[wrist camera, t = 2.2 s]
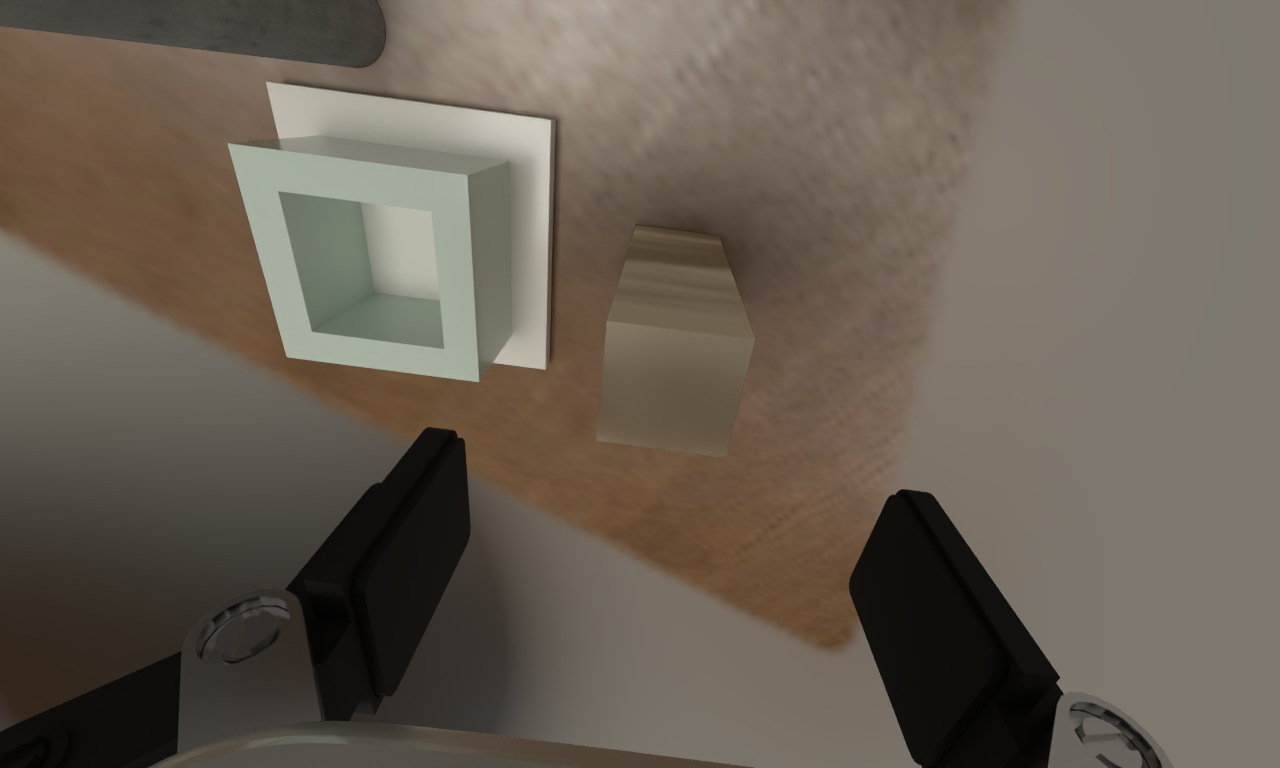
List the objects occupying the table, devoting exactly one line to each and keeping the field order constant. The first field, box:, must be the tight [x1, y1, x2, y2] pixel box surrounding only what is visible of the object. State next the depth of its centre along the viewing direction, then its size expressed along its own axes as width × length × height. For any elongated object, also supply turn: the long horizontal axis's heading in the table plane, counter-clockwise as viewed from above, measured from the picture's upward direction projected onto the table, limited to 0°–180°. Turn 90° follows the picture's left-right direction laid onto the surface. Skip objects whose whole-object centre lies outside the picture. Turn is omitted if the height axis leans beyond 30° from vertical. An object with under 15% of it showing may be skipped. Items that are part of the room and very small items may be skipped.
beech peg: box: [596, 225, 755, 457], centre depth 19 cm, size 4×4×12 cm
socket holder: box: [228, 82, 556, 382], centre depth 22 cm, size 12×12×6 cm
